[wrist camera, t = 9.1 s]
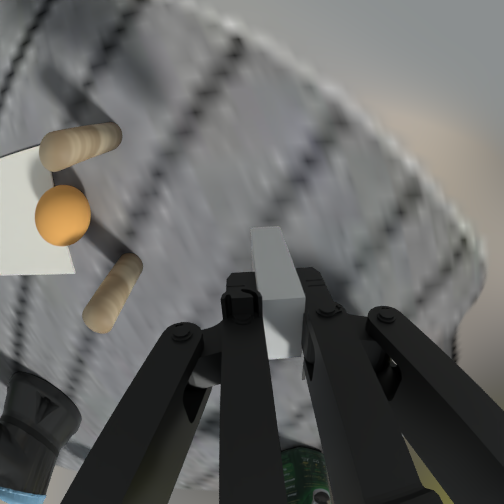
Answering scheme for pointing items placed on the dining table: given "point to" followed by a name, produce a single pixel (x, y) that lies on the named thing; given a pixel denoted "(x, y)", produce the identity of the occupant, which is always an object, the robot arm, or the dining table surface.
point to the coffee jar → (305, 476)
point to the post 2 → (112, 294)
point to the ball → (62, 215)
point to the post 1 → (78, 144)
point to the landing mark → (26, 218)
